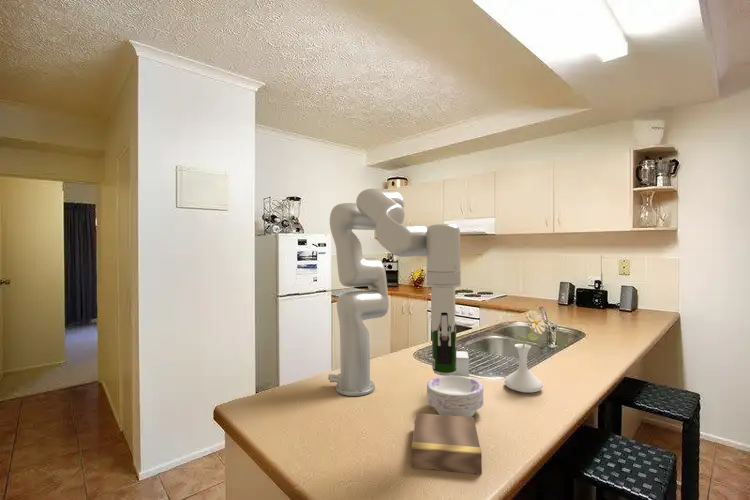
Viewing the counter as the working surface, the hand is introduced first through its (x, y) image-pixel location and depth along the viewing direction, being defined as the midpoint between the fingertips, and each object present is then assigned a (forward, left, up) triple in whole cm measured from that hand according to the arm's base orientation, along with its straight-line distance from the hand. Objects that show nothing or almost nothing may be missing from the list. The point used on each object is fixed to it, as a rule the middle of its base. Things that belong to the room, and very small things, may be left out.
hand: (444, 358), depth 81 cm
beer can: (0, 0, -3) cm, 3 cm away
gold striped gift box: (0, 0, -20) cm, 20 cm away
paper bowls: (+3, +19, -21) cm, 28 cm away
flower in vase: (+26, +39, -21) cm, 51 cm away
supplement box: (+4, +31, -21) cm, 37 cm away
